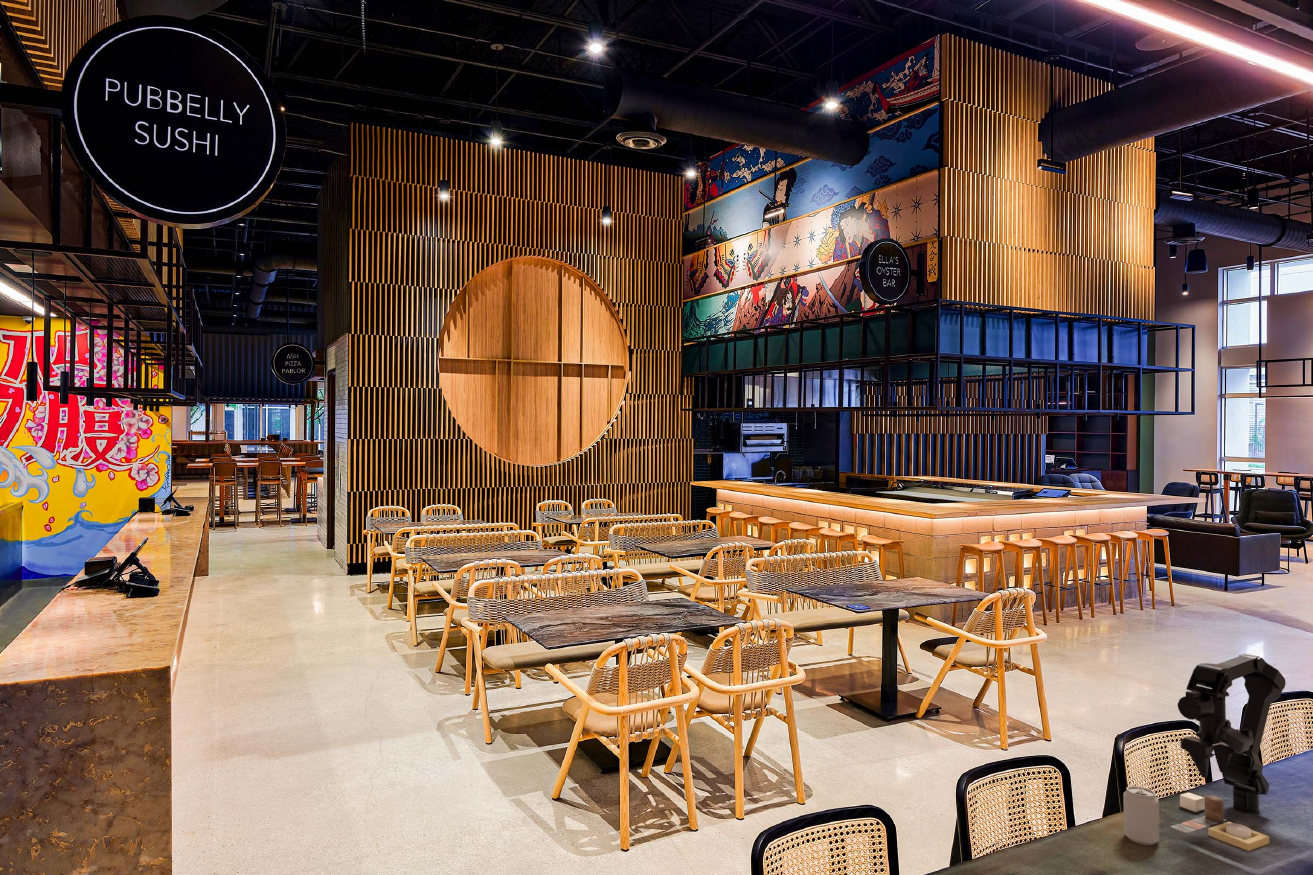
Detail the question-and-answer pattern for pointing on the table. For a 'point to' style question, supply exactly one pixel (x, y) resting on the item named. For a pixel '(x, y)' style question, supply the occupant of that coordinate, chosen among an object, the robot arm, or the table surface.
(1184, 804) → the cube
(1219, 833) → the box
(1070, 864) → the table surface
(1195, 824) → the makeup compact
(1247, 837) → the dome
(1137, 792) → the can
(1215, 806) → the brown capsule
